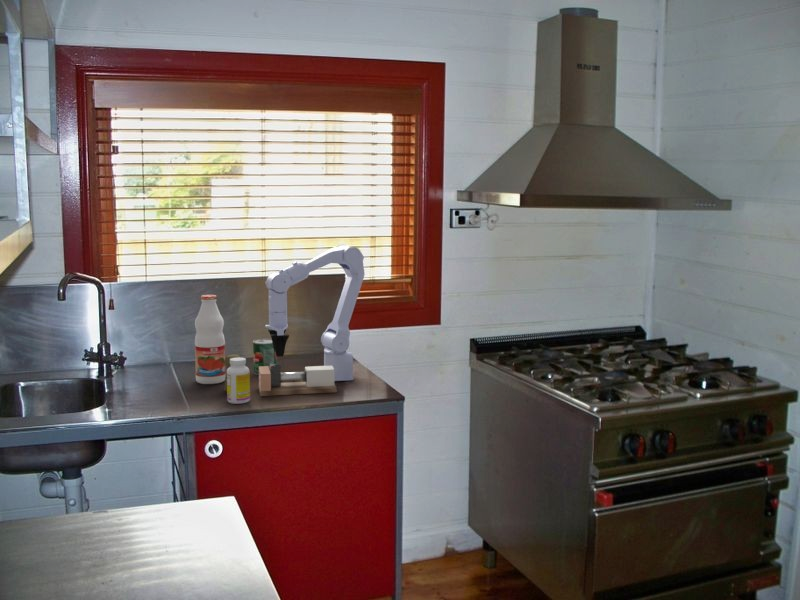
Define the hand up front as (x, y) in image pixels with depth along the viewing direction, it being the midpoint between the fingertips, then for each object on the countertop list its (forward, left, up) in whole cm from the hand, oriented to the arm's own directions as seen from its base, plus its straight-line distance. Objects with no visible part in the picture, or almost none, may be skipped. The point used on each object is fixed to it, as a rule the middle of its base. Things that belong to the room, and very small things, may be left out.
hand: (278, 353), depth 262 cm
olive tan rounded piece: (+14, +3, -11) cm, 18 cm away
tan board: (-5, +7, -10) cm, 13 cm away
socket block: (+5, +7, -9) cm, 12 cm away
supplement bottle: (+13, +17, -11) cm, 24 cm away
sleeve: (-12, +7, -9) cm, 16 cm away
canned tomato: (+3, -17, -11) cm, 20 cm away
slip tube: (-2, +7, -8) cm, 11 cm away
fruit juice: (+21, -9, -11) cm, 25 cm away
